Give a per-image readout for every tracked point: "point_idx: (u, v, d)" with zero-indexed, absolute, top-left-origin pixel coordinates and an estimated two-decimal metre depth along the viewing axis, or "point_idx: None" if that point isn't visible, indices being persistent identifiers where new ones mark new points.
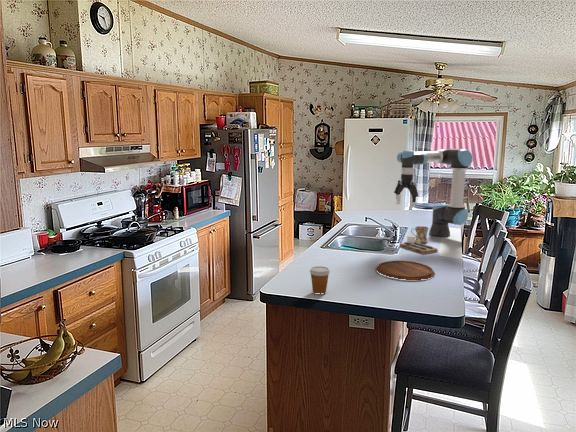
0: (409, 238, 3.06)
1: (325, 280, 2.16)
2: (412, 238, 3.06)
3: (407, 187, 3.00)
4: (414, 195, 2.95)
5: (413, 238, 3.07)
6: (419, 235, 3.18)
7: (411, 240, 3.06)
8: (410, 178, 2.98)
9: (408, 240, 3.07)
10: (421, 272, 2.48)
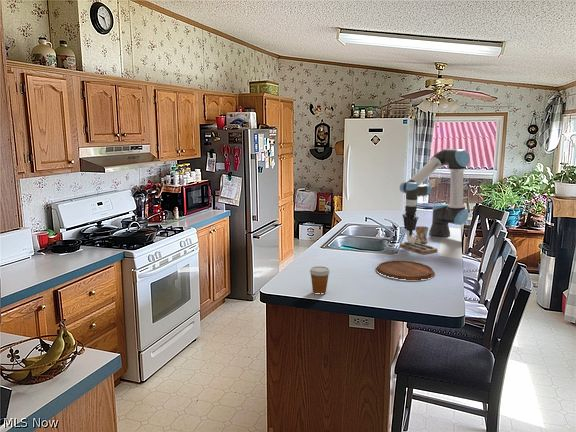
0: (410, 238, 3.06)
1: (325, 280, 2.16)
2: (413, 238, 3.06)
3: (409, 219, 3.05)
4: (411, 228, 3.05)
5: (414, 238, 3.06)
6: (419, 235, 3.18)
7: (412, 240, 3.06)
8: None
9: (409, 240, 3.06)
10: (421, 272, 2.48)
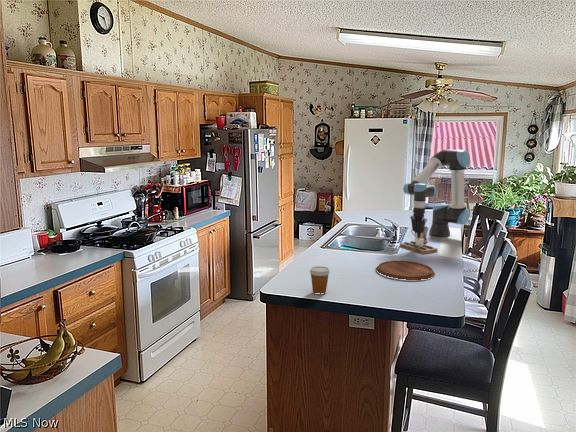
0: (418, 241, 2.99)
1: (325, 280, 2.16)
2: (421, 241, 2.99)
3: (417, 221, 2.98)
4: (419, 230, 2.98)
5: (422, 241, 3.00)
6: None
7: (420, 243, 2.99)
8: None
9: (417, 243, 3.00)
10: (421, 272, 2.48)
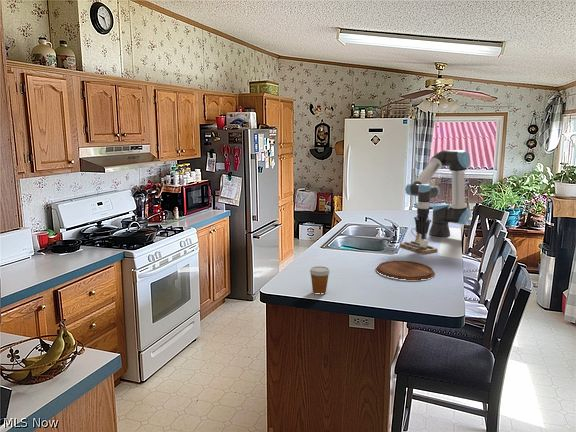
0: (422, 242, 2.96)
1: (325, 280, 2.16)
2: (425, 242, 2.96)
3: (421, 222, 2.95)
4: (423, 232, 2.95)
5: (426, 242, 2.97)
6: None
7: (424, 244, 2.96)
8: None
9: (421, 244, 2.97)
10: (421, 272, 2.48)
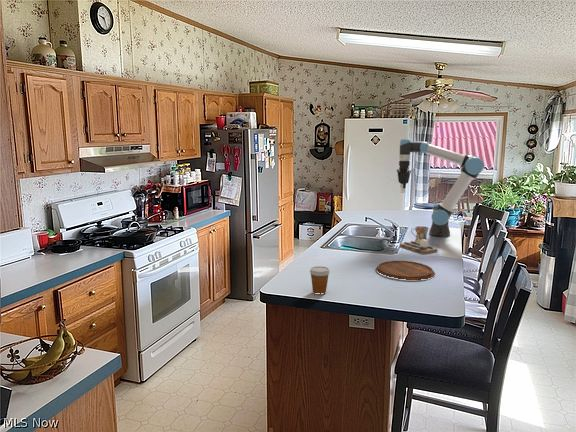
0: (422, 242, 2.96)
1: (325, 280, 2.16)
2: (425, 242, 2.96)
3: (403, 173, 3.32)
4: (404, 181, 3.32)
5: (426, 242, 2.96)
6: (419, 235, 3.18)
7: (424, 244, 2.96)
8: None
9: (421, 244, 2.97)
10: (421, 272, 2.48)
